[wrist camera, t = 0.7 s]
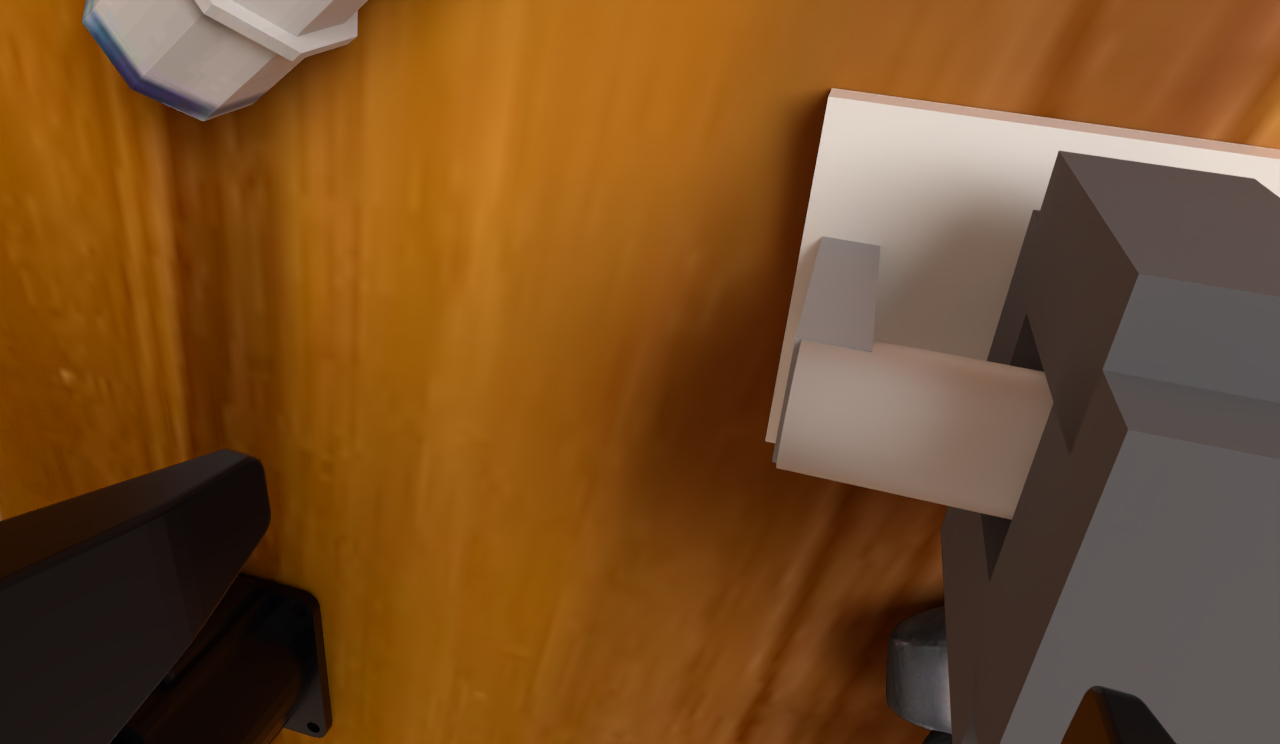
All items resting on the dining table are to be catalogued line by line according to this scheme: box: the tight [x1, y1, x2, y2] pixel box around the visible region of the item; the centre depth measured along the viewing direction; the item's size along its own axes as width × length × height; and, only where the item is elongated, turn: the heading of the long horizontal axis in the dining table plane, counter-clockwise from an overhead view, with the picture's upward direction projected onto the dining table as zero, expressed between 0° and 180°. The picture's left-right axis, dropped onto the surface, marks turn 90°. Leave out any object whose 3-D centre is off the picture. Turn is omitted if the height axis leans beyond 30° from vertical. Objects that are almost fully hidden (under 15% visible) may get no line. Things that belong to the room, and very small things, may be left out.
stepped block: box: [941, 151, 1280, 744], centre depth 14 cm, size 8×3×8 cm, turn 174°
